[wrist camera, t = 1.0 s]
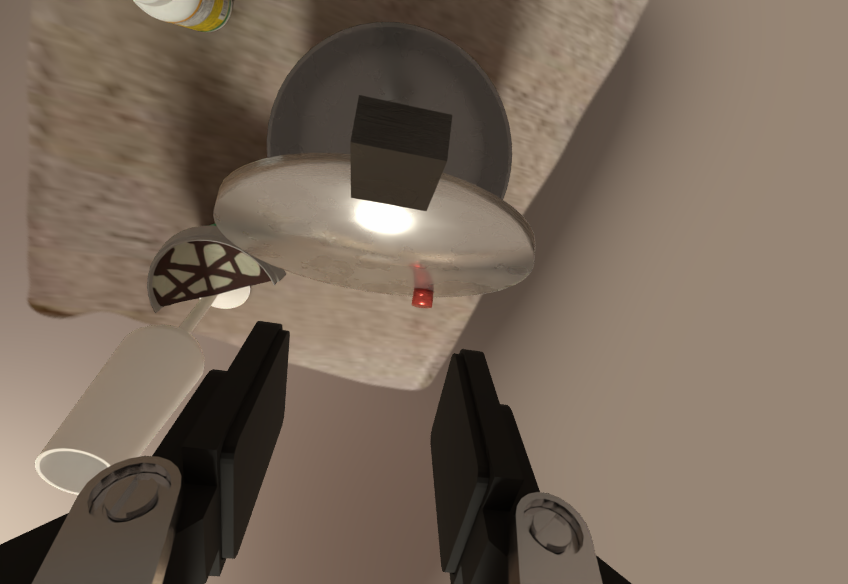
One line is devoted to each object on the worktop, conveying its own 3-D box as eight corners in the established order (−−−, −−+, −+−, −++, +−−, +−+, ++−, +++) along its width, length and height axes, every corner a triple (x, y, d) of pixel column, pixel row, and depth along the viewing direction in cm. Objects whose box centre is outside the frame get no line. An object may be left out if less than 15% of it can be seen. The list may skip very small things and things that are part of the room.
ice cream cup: (283, 190, 43) (252, 217, 34) (304, 245, 46) (280, 283, 37) (170, 218, 44) (111, 251, 35) (197, 270, 46) (149, 314, 37)
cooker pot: (305, 16, 36) (270, -10, 27) (508, 63, 39) (545, 56, 29) (292, 224, 45) (262, 263, 35) (460, 252, 47) (477, 296, 37)
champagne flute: (177, 261, 45) (-10, 445, 25) (237, 252, 45) (100, 430, 24) (202, 312, 49) (57, 510, 28) (258, 304, 48) (154, 497, 28)
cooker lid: (101, 39, 13) (76, 106, 12) (661, 159, 15) (663, 219, 15) (259, 260, 34) (252, 288, 34) (480, 295, 37) (478, 321, 36)
